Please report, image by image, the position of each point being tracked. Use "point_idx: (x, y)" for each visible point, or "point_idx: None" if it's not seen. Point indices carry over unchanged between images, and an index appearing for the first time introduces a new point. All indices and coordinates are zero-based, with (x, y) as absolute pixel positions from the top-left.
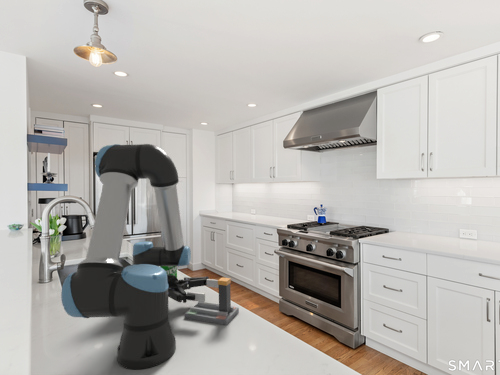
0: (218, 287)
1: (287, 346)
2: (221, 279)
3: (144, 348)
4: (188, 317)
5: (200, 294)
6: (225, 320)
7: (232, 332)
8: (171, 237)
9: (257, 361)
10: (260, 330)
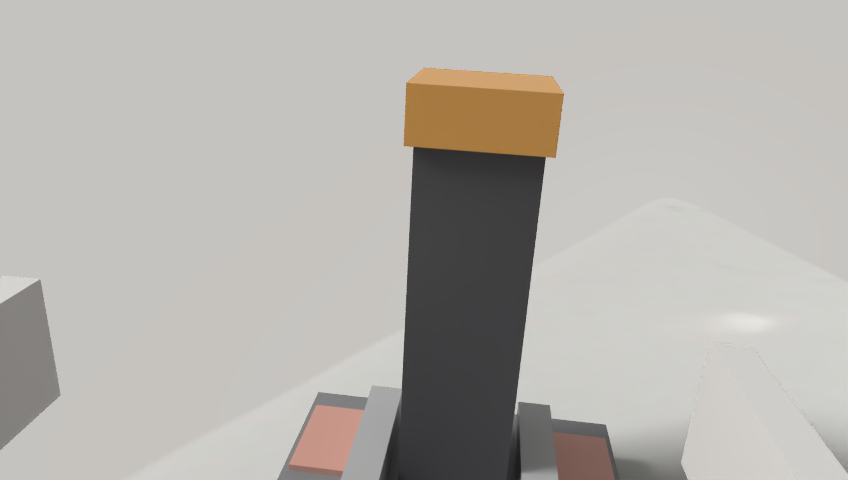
0: (12, 431)
1: (641, 251)
2: (502, 84)
3: None
4: None
5: (777, 399)
6: (607, 433)
7: (679, 409)
8: None
9: (830, 303)
10: (562, 311)
